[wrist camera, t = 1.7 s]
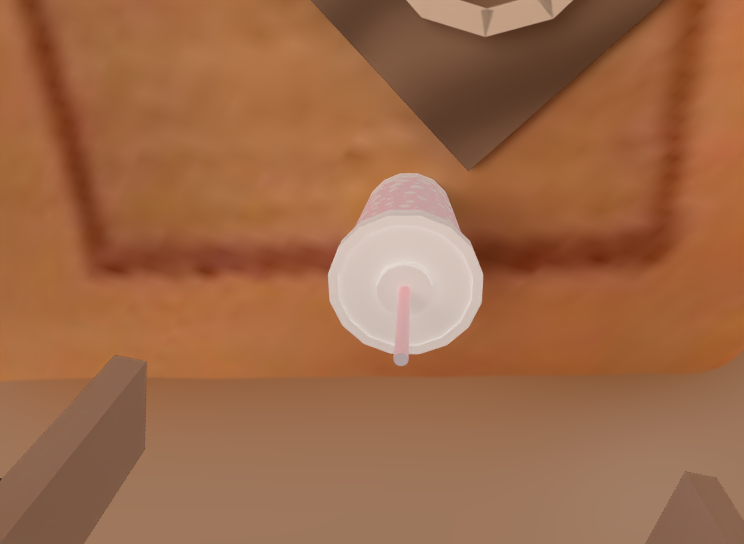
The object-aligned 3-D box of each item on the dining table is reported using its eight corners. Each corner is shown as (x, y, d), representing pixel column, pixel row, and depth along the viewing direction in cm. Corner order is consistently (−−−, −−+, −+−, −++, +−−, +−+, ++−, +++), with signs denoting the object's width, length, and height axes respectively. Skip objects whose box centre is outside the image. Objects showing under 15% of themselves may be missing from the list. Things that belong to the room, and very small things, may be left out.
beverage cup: (423, 286, 32) (426, 465, 19) (330, 229, 31) (269, 379, 18) (490, 199, 30) (543, 338, 17) (392, 134, 29) (370, 231, 16)
